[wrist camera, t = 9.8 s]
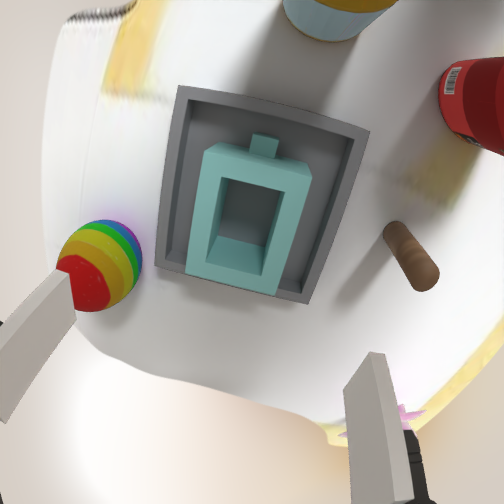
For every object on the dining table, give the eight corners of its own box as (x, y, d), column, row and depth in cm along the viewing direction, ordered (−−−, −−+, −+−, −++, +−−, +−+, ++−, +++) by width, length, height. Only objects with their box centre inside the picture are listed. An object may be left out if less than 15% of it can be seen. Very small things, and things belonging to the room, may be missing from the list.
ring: (199, 245, 29) (184, 273, 25) (222, 124, 24) (208, 130, 19) (276, 264, 29) (274, 295, 25) (312, 146, 24) (318, 156, 19)
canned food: (447, 149, 23) (520, 184, 13) (423, 66, 20) (496, 57, 10) (502, 134, 21) (577, 162, 11) (483, 57, 18) (559, 55, 8)
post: (388, 218, 27) (419, 259, 20) (410, 225, 27) (444, 267, 20) (379, 241, 28) (405, 288, 21) (400, 247, 28) (430, 294, 21)
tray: (188, 86, 23) (178, 85, 20) (361, 128, 23) (370, 131, 21) (164, 252, 31) (154, 265, 28) (306, 287, 31) (308, 304, 29)
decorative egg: (76, 225, 30) (21, 270, 22) (128, 198, 28) (70, 243, 20) (110, 284, 34) (68, 340, 25) (164, 266, 32) (125, 329, 23)
